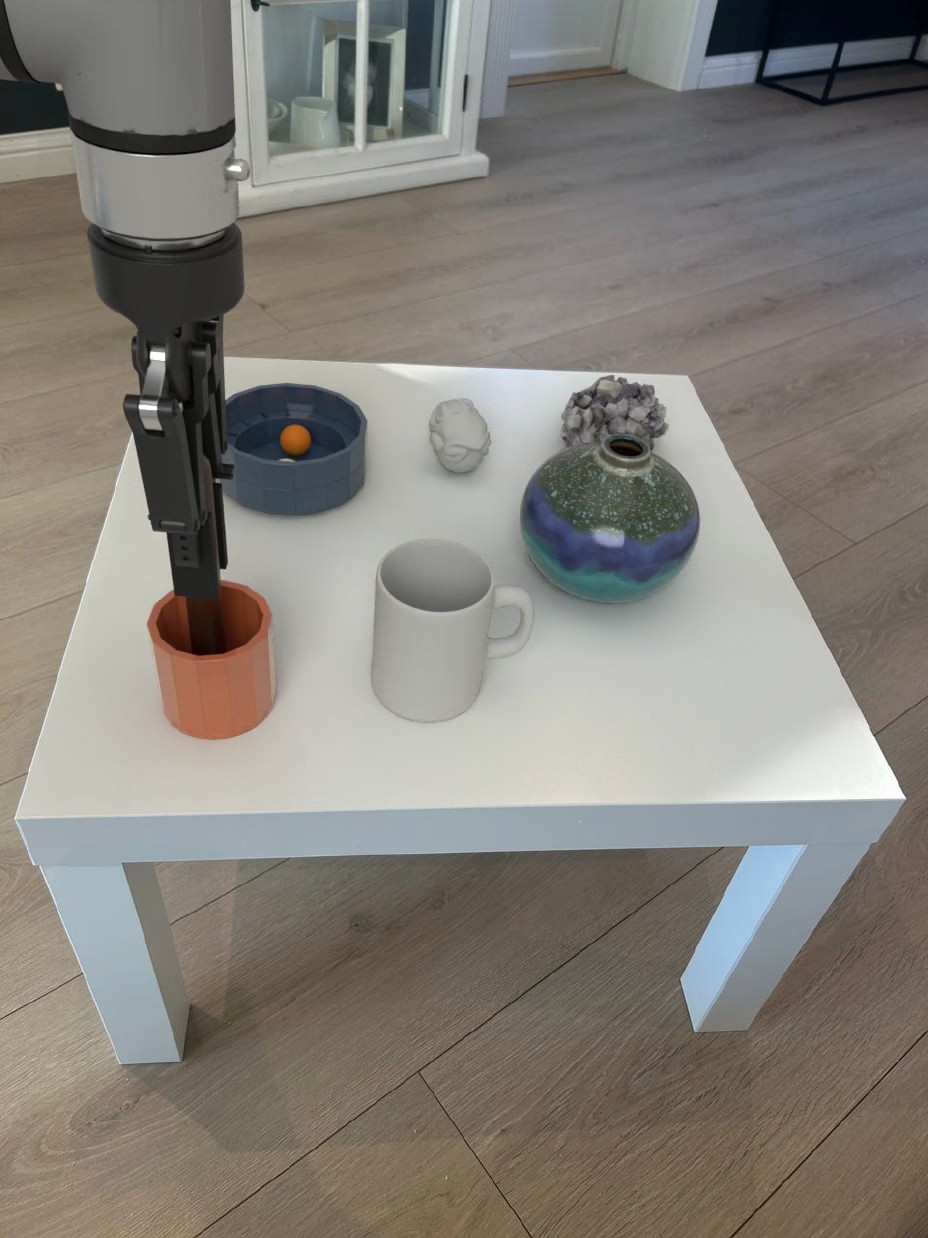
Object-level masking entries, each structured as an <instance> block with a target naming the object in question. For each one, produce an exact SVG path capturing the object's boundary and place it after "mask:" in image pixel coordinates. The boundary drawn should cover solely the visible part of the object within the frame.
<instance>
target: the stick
mask: <svg viewBox="0 0 928 1238" xmlns="http://www.w3.org/2000/svg"><path fill="white" fill-rule="evenodd" d="M203 466H204V483H205V500H206V511H208V512H212V520H213V531H214V542H215V554H216V565H217V576H218V587H219V593H218V596H217V599H207V598H196V597H185V598H186V606H187V614H188V623H189V631H190V639H191V647H192V654H194V655H198V656H201V655H214V654H224V653H226V652H227V645H226V634H225V622H224V611H223V599H222V588H221V580H222V578H221V569H220V565H219V554H218V542H217V531H216V519H215V508H214V496H213V485H212V473H211V465H210V462H209V460H208V458H207V457H206V456H205V455H204V454H203Z"/></svg>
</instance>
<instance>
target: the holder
mask: <svg viewBox="0 0 928 1238" xmlns="http://www.w3.org/2000/svg"><path fill="white" fill-rule="evenodd" d="M221 588H222V599H223V611H224V622H225V634H226V645H227V652H226V653H224V654H214V655H201V656H198V655H194V654H192V647H191V639H190V631H189V623H188V614H187V606H186V598H185V597H184V596H175V595H174V589H172V590H170V591H169V592H168V593H166V594H165V595H164V596H162V598H160V599H159V600H158V601H157V602H156V603H155V604H154V605H153V607H152V608H151V612H150V614H149V615H148V616H149V617H148V619H147V621H146V628H147V633H148V639H149V645H150V650H151V655H152V662H153V668H154V673H155V679H156V684H157V689H158V696H159V700H160V703H161V708H162V711H163V714H164V716H165V719H167V721H168V722H169V723H170V725H171V726H173V727H174V728H175V729H176V730H178V731H179V732H180V733H183V734H185V735H187V736H189V737H194V738H197V739H202V740H203V739H204V740H225V739H229V738H233V737H237V736H240V735H243V734H246V733H248V732H249V731H251V730H253V729H254V728H256V727H258V726H259V725H260V724H261V723H262V722H263V721H264V720H265V719H266V718H267V717H268V716H269V714H270V713H271V711H272V708H273V707H274V703H275V700H276V690H277V680H276V679H277V678H276V665H275V663H276V662H275V661H276V660H275V644H274V629H273V628H274V627H273V625H274V624H273V614H272V612H271V609H270V607H269V604H268V603H267V601H266V599H265V597H264V596H263V595H261V594H260V593H258V592H256V591H255V590H254V589H252V588H251V587H249V586H247V584H241V583H237V582H233V581H228V580H224V579H221Z"/></svg>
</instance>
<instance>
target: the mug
mask: <svg viewBox="0 0 928 1238" xmlns="http://www.w3.org/2000/svg"><path fill="white" fill-rule="evenodd" d="M378 563H379V564H378V566H377V569H376V574H375V587H374V589H375V590H374V609H373V610H374V613H373V635H372V655H371V667H370V669H371V670H370V680H371V681H370V682H371V686H372V690H373V693H374V694H375V697H376V699H377V700H378V701H379V702H380V703H381V705H383V706H384V708H386V709H387V710H389V711H390V712H391V713H393V714H394V715H397V716H398V717H401V718H403V719H406V720H409V721H412V722H413V721H414V722H420V723H438V722H444V721H448V720H451V719H453V718H455V717H457V716H460V715H461V714H463V713H464V712H466V711H467V710H468V709H470V708H471V707H472V705H473V704H474V703H475V701H476V699H477V698H478V696H479V693H480V690H481V685H482V679H483V673H484V667H485V662H486V661H487V660H497V659H498V660H499V659H503V658H504V659H505V658H508V657H512V656H515V655H517V654H518V653H519V652H521V651H522V650H523V649H524V648H525V646H526V645H527V643H528V641H530V637H531V634H532V632H533V628H534V623H535V605H534V601H533V598H532V596H531V593H530V592H529V591H528V590H527V589H525V588H523V587H521V586H517V585H511V584H509V585H508V584H496V579H495V573H494V571H493V568H492V566H491V565H490V563H489V562H488V561H487V560H486V558H485V557H484V556H482V555H481V554H480V553H479V552H477V551H476V550H475V549H473V548H471V547H469V546H467V545H464V544H462V543H459V542H456V541H453V540H447V539H442V538H420V539H415V540H410V541H407V542H404V543H401V544H399V545H397V546H394V547H393V548H392V549H390V550H389V551H388V552H387V553H386V554H385V555H384V556H383V557H382V558H381V560H380V562H378ZM506 607H514V608H518V609H519V610H520V620H519V623H518V625H517V627H516V629H515V630H514V631H513V633H511V634H510V635H507V636H505V637H489V630H490V625H491V621H492V616H493V612H494V610H497V609H500V608H506Z"/></svg>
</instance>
